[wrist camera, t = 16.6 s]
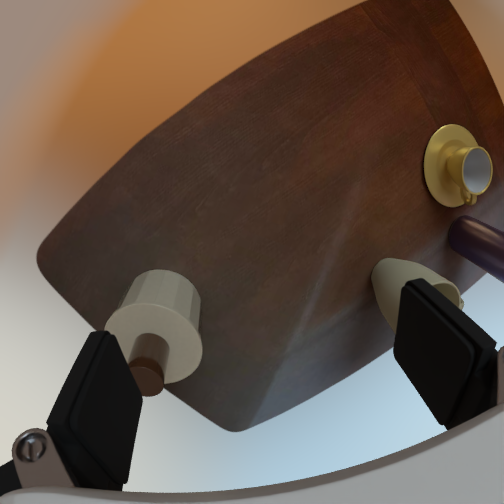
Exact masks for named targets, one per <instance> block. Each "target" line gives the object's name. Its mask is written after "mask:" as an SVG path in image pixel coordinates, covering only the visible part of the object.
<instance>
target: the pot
mask: <svg viewBox="0 0 504 504" xmlns="http://www.w3.org/2000/svg"><path fill="white" fill-rule="evenodd" d="M137 301H153V302H158V303H162V304H165V305H168V306H170V307H173V308H175V309H176V310H178V311H180V312H181V313H183V314H184V315H185V316H186V317H187V318H189V319H190V321H191V322H192V323H193V324H194V325H195V327H196V328H197V330H198V332H199V334H200V331H201V317H202V309H201V299H200V296H199V294H198V292H197V290H196V288H195V287H194V286H193V284H192V283H191V282H190V281H189V280H187V279H186V278H185V277H183V276H181V275H180V274H178V273H175V272H172V271H169V270H159V269H158V270H150V271H147V272H144V273H142V274H140V275H139V276H137V277H136V278H135V279H134V280H133V281H132V282H131V284H130V285H129V286H128V287H127V289H126V291H125V293H124V295H123V297H122V299H121V301H120V303H119V305H118V306H117V308H116V310H117V309H118V308H120V307H122V306H124V305H126V304H129V303H132V302H137ZM116 310H115V311H116Z"/></svg>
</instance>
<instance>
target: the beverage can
mask: <svg viewBox="0 0 504 504" xmlns="http://www.w3.org/2000/svg"><path fill="white" fill-rule="evenodd" d="M449 243H450V246H451V248H452V249H453V251H455V252H456V253H458V254H460V255H461V256H463V257H464V258H466V259H468V260H469V261H471V262H472V263H474V264H475V265H477V266H479V267H480V268H482V269H483V270H485V271H486V272H488V273H489V274H491V275H492V276H494V277H496V278H497V279H498V280H500V281H501V282H503V283H504V232H502V231H500V230H498V229H496V228H494V227H492V226H490V225H488V224H485V223H483V222H481V221H479V220H477V219H474V218H472V217H470V216H462V217H459V218H458V219H456V220H455V221H454V223H453V224H452V226H451V228H450V231H449Z"/></svg>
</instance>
